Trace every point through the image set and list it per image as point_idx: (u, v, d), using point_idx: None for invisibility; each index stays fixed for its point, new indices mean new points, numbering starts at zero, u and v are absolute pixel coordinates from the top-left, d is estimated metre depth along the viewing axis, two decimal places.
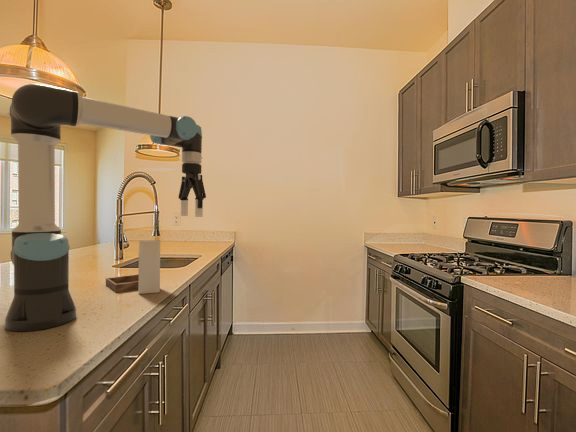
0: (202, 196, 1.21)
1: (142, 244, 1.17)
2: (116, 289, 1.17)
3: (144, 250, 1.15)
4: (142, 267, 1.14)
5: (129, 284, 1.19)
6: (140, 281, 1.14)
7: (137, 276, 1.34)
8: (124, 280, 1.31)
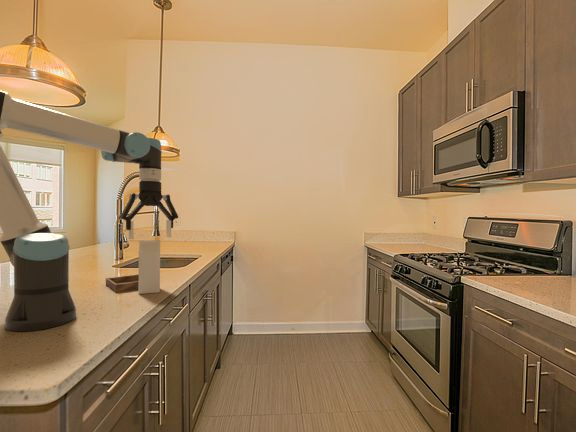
0: (121, 217, 1.12)
1: (142, 244, 1.17)
2: (116, 289, 1.17)
3: (144, 250, 1.15)
4: (142, 267, 1.14)
5: (129, 284, 1.19)
6: (140, 281, 1.14)
7: (137, 276, 1.34)
8: (124, 280, 1.31)
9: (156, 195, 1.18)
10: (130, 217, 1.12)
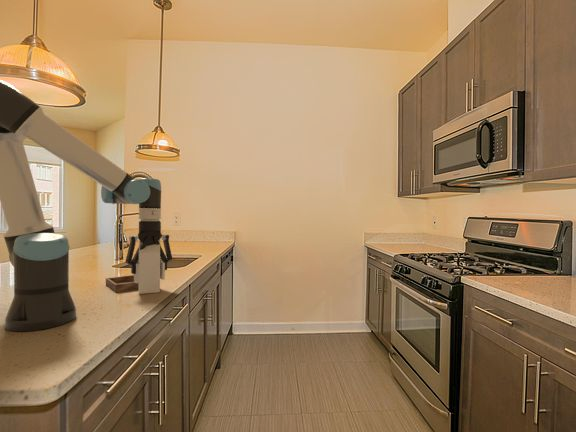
0: (126, 262, 1.13)
1: None
2: (116, 289, 1.17)
3: (144, 250, 1.15)
4: (142, 267, 1.14)
5: (129, 284, 1.19)
6: (140, 281, 1.14)
7: None
8: (124, 280, 1.31)
9: (156, 233, 1.19)
10: (135, 261, 1.14)
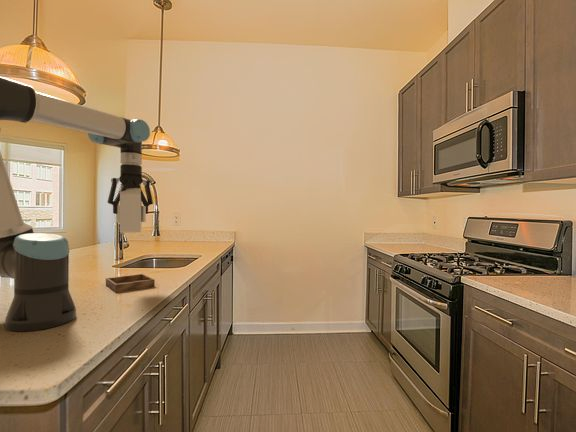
0: (108, 202, 1.20)
1: None
2: (116, 289, 1.17)
3: (125, 192, 1.22)
4: (123, 208, 1.21)
5: (129, 284, 1.19)
6: (121, 220, 1.21)
7: (137, 276, 1.34)
8: (124, 280, 1.31)
9: (137, 178, 1.26)
10: (116, 201, 1.21)
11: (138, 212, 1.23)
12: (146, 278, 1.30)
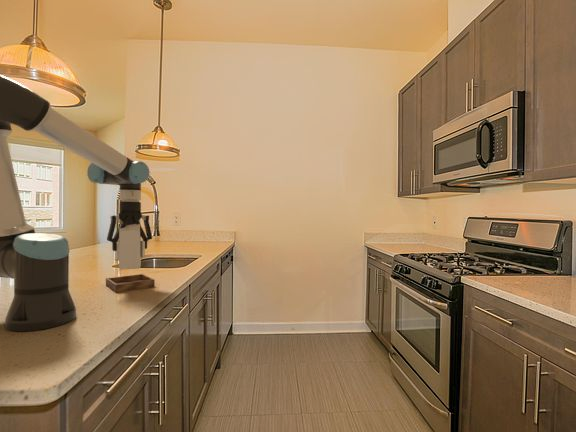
0: (107, 239, 1.21)
1: None
2: (116, 289, 1.17)
3: (124, 229, 1.23)
4: (122, 245, 1.22)
5: (129, 284, 1.19)
6: (121, 258, 1.22)
7: (137, 276, 1.34)
8: (124, 280, 1.31)
9: (136, 214, 1.26)
10: (116, 239, 1.21)
11: (137, 249, 1.24)
12: (146, 278, 1.30)
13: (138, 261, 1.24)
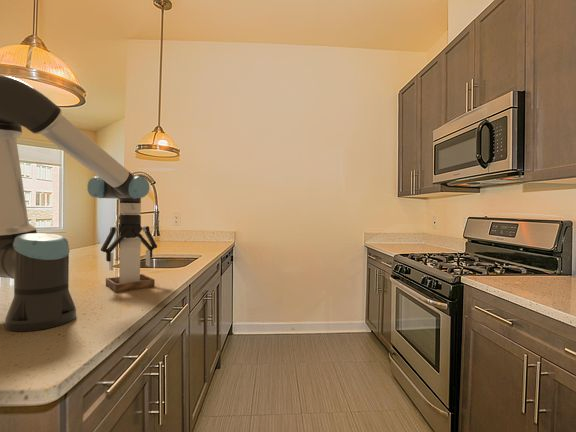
0: (101, 250, 1.19)
1: (123, 240, 1.24)
2: (116, 289, 1.17)
3: (125, 245, 1.23)
4: (123, 262, 1.22)
5: (129, 284, 1.19)
6: (121, 274, 1.22)
7: None
8: None
9: (136, 227, 1.26)
10: (110, 249, 1.20)
11: (138, 265, 1.24)
12: (146, 278, 1.30)
13: (138, 278, 1.24)
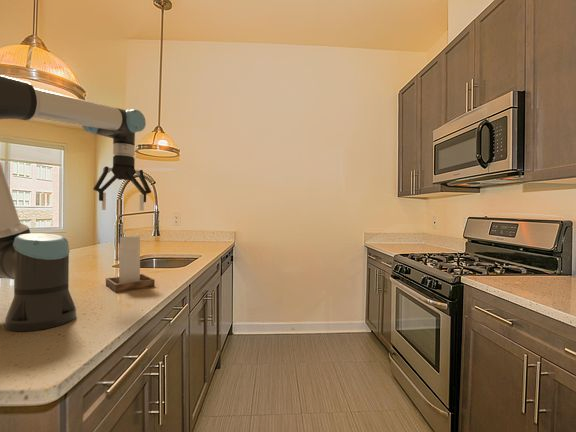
0: (94, 188, 1.18)
1: (122, 240, 1.24)
2: (116, 289, 1.17)
3: (124, 245, 1.23)
4: (122, 262, 1.22)
5: (129, 284, 1.19)
6: (121, 275, 1.22)
7: None
8: None
9: (129, 170, 1.25)
10: (103, 189, 1.19)
11: (137, 265, 1.24)
12: (146, 278, 1.30)
13: (138, 278, 1.24)
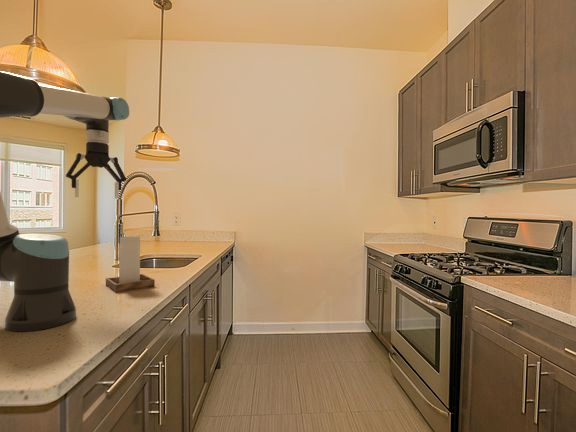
0: (66, 175, 1.17)
1: (122, 240, 1.24)
2: (116, 289, 1.17)
3: (124, 245, 1.23)
4: (122, 262, 1.22)
5: (129, 284, 1.19)
6: (121, 275, 1.22)
7: None
8: None
9: (103, 157, 1.24)
10: (75, 175, 1.18)
11: (137, 265, 1.24)
12: (146, 278, 1.30)
13: (138, 278, 1.24)
